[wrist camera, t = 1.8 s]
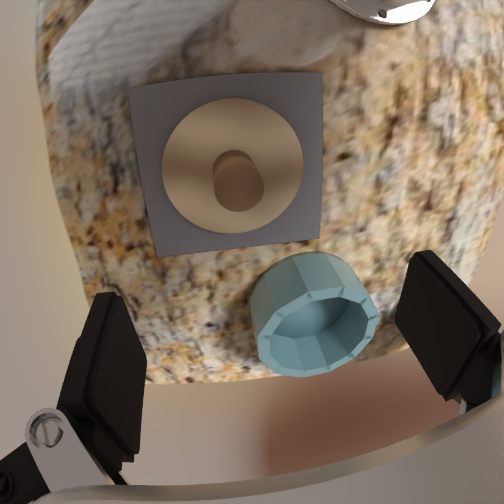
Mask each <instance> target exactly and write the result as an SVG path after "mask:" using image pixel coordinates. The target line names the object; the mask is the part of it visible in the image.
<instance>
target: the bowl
mask: <svg viewBox="0 0 504 504" xmlns="http://www.w3.org/2000/svg"><path fill="white" fill-rule="evenodd" d="M250 311H251V323H252V328H253V333H254V338H255V343H256V347H257V352H258V357H259V360H261V361H262V362H263V363H264V364H265V365H266V366H268V367H269V368H270V369H271V370H272V371H273V372H275V373H277V374H282V375H288V376H295V377H306V376H311V375H316V374H321V373H325V372H330V371H332V370H333V369H335V368H337V367H339V366H341V365H343V364H344V363H346V362H348V361H350V360H351V359H353V358H355V357H356V356H357V355H358V354H359V352H360V351H361V350H362V349H363V348H364V347H365V346H366V345H367V344H368V342H369V341H370V340H371V339H372V338H373V336H374V332H375V329H376V325H377V321H378V318H379V313H378V311H377V309H376V307H375V305H374V303H373V301H372V299H371V297H370V295H369V293H368V292H367V290H366V289H365V287H364V286H363V284H362V283H361V281H360V280H359V278H358V277H357V275H356V274H355V272H354V271H353V270H352V268H351V267H350V265H349V264H348V263H346V262H344V261H343V260H342V259H340V258H339V257H337V256H335V255H332V254H329V253H324V252H305V253H299V254H296V255H292V256H290V257H287V258H285V259H283V260H281V261H279V262H278V263H276V264H275V265H273V266H272V267H270V268H269V269H268V270H267V271H266V272H265V273H264V274H263V275H262V276H261V277H260V278H259V280H258V281H257V283H256V284H255V286H254V288H253V291H252V293H251V297H250Z"/></svg>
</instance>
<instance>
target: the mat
mask: <svg viewBox="0 0 504 504" xmlns="http://www.w3.org/2000/svg"><path fill="white" fill-rule="evenodd" d="M128 97H129V105H130V113H131V120H132V127H133V134H134V141H135V147H136V153H137V159H138V165H139V171H140V176H141V182H142V187H143V192H144V197H145V202H146V207H147V212H148V217H149V222H150V226H151V231H152V235H153V240H154V244H155V248H156V252H157V257H166V256H175V255H183V254H191V253H200V252H208V251H216V250H225V249H233V248H242V247H250V246H259V245H267V244H276V243H284V242H293V241H302V240H310V239H319V238H320V219H321V195H322V154H323V102H322V73H317V72H262V73H241V74H227V75H216V76H206V77H197V78H189V79H181V80H174V81H168V82H162V83H156V84H150V85H145V86H139V87H134V88H129V89H128ZM233 98H238V99H246V100H251V101H254V102H257V103H260V104H262V105H265V106H267V107H269V108H270V109H272V110H274V111H275V112H277V113H278V114H279V115H280V116H282V117H283V118H284V119H285V120H286V121H287V122H288V123H289V125H290V126H291V128H292V129H293V130H294V132H295V134H296V136H297V138H298V140H299V143H300V146H301V149H302V154H303V174H302V179H301V183H300V186H299V189H298V191H297V193H296V195H295V197H294V199H293V200H292V202H291V203H290V205H289V206H288V207H287V208H286V209H285V210H284V211H283V212H282V213H281V214H280V215H279V216H278V217H277V218H275V219H274V220H273V221H271V222H269V223H268V224H266V225H264V226H262V227H260V228H257V229H254V230H251V231H248V232H242V233H231V234H230V233H219V232H213V231H210V230H206V229H204V228H201V227H199V226H197V225H195V224H194V223H192V222H190V221H189V220H188V219H186V218H185V217H184V216H183V215H182V214H181V213H180V212H179V211H178V210H177V209H176V208H175V206H174V205H173V204H172V202H171V200H170V199H169V197H168V195H167V192H166V190H165V187H164V183H163V179H162V159H163V153H164V150H165V147H166V144H167V142H168V140H169V138H170V136H171V134H172V132H173V131H174V129H175V128H176V127H177V125H178V124H179V123H180V122H181V121H182V120H183V119H184V118H185V117H186V116H187V115H188V114H190V113H191V112H192V111H194V110H195V109H197V108H199V107H200V106H203V105H205V104H207V103H210V102H213V101H216V100H222V99H233Z"/></svg>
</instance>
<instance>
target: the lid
mask: <svg viewBox="0 0 504 504" xmlns="http://www.w3.org/2000/svg"><path fill="white" fill-rule="evenodd" d="M302 174H303V154H302V149H301V146H300V143H299V140H298V138H297V136H296V134H295V132H294V130H293V129H292V128H291V126H290V125H289V123H288V122H287V121H286V120H285V119H284V118H283V117H282V116H280V115H279V114H278V113H277V112H275V111H274V110H272V109H270V108H269V107H267V106H265V105H262V104H260V103H257V102H254V101H251V100H246V99H238V98H233V99H222V100H216V101H213V102H210V103H207V104H205V105H203V106H200V107H199V108H197V109H195V110H194V111H192V112H191V113H190V114H188V115H187V116H186V117H185V118H184V119H183V120H182V121H181V122H180V123H179V124H178V125H177V127H176V128H175V129H174V131H173V132H172V134H171V136H170V138H169V140H168V142H167V144H166V147H165V150H164V153H163V159H162V179H163V183H164V187H165V190H166V192H167V195H168V197H169V199H170V200H171V202H172V204H173V205H174V206H175V208H176V209H177V210H178V211H179V212H180V213H181V214H182V215H183V216H184V217H185V218H186V219H188V220H189V221H190V222H192V223H194V224H195V225H197V226H199V227H201V228H204V229H206V230H210V231H213V232H219V233H230V234H231V233H242V232H248V231H251V230H254V229H257V228H260V227H262V226H264V225H266V224H268V223H269V222H271V221H273V220H274V219H275V218H277V217H278V216H279V215H280V214H281V213H282V212H283V211H284V210H285V209H286V208H287V207H288V206H289V205H290V203H291V202H292V200H293V199H294V197H295V195H296V193H297V191H298V189H299V186H300V183H301V179H302Z"/></svg>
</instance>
